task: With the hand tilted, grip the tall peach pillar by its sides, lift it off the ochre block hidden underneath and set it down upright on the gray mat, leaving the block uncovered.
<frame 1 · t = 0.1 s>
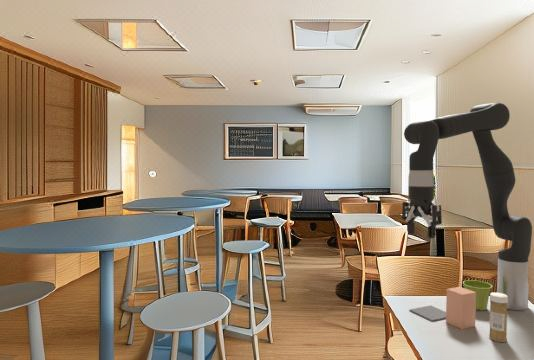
hand: (420, 235, 120), 29 cm above the table, tool pointing down, fingers open, 8 cm apart
spice jar: (497, 339, 112), on the table
plant pot: (476, 308, 137), on the table
gray mat: (431, 313, 131), on the table
ochre block: (460, 318, 123), in the tall peach pillar
tall peach pillar: (460, 324, 123), on the table
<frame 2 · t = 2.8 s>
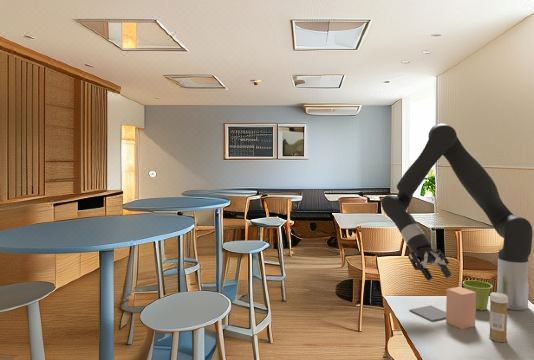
hand: (439, 278, 130), 13 cm above the table, tool tilted 45°, fingers open, 8 cm apart
nothing on the table moved.
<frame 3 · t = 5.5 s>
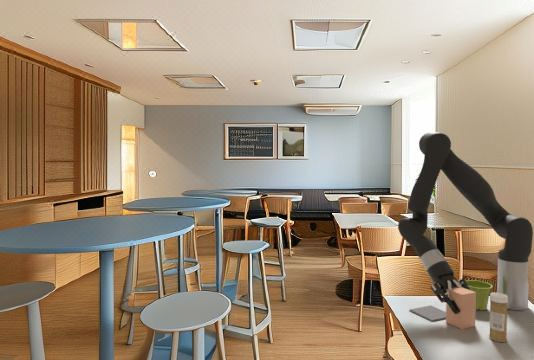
hand: (465, 311, 121), 5 cm above the table, tool tilted 45°, fingers closed on tall peach pillar, 6 cm apart
tall peach pillar: (460, 324, 123), on the table, touching gripper
everything else where it was.
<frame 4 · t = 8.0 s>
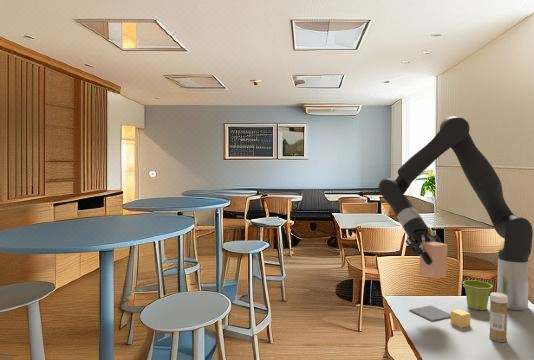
hand: (437, 262, 129), 18 cm above the table, tool tilted 45°, fingers closed on tall peach pillar, 6 cm apart
tall peach pillar: (432, 275, 130), point 14 cm above the table, touching gripper
everything else where it was.
when the fingers open (6 cm above the table, at t = 10.9 s): tall peach pillar stays where it is, resting on gray mat.
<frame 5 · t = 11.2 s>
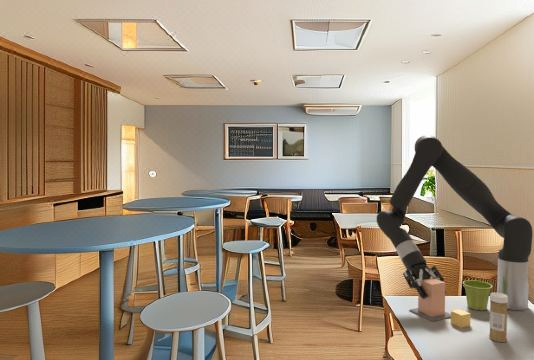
hand: (434, 296, 130), 7 cm above the table, tool tilted 45°, fingers open, 8 cm apart
tall peach pillar: (431, 312, 131), resting on gray mat
everything else where it was.
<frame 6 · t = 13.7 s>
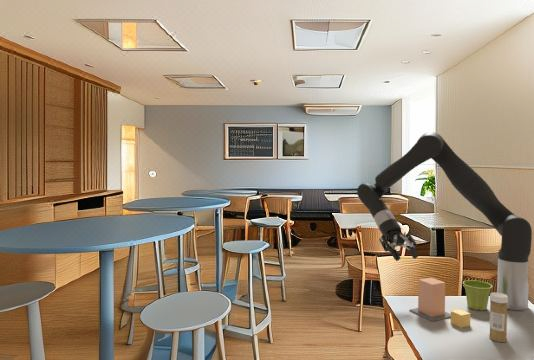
hand: (407, 258, 141), 17 cm above the table, tool tilted 45°, fingers open, 8 cm apart
nothing on the table moved.
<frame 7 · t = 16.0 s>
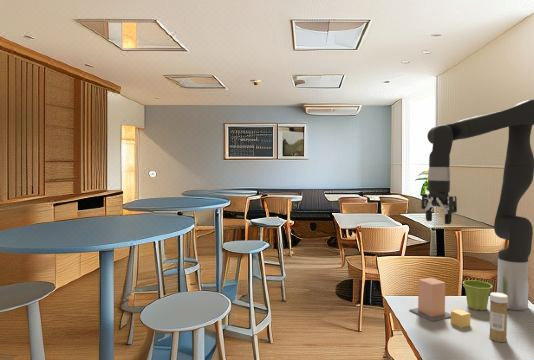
hand: (438, 222, 142), 30 cm above the table, tool pointing down, fingers open, 8 cm apart
nothing on the table moved.
at the end: tall peach pillar inside the target area on the gray mat (0.0 cm from its centre), point 0.5 cm above the gray mat's base; tall peach pillar tilted 0°; the gripper is holding nothing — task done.
